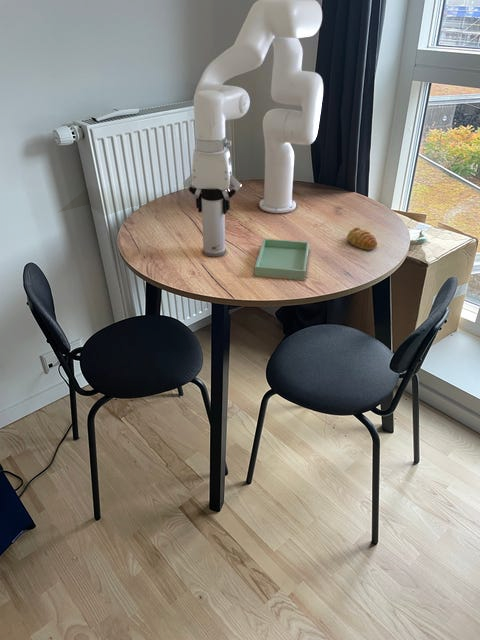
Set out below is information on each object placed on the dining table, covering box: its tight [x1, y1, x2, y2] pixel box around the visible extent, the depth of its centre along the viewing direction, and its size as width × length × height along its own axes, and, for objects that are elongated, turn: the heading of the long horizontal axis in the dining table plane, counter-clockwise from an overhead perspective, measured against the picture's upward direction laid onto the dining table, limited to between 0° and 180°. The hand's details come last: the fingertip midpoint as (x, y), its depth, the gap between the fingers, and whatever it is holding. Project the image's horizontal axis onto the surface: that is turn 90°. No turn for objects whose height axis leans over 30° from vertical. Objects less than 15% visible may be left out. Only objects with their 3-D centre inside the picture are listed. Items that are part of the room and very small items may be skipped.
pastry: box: [346, 227, 378, 251], centre depth 143 cm, size 9×7×4 cm
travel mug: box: [201, 189, 226, 258], centre depth 135 cm, size 6×7×20 cm
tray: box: [254, 238, 310, 281], centre depth 134 cm, size 17×13×3 cm
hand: (213, 210), depth 133 cm, fingers closed on travel mug, 6 cm apart
